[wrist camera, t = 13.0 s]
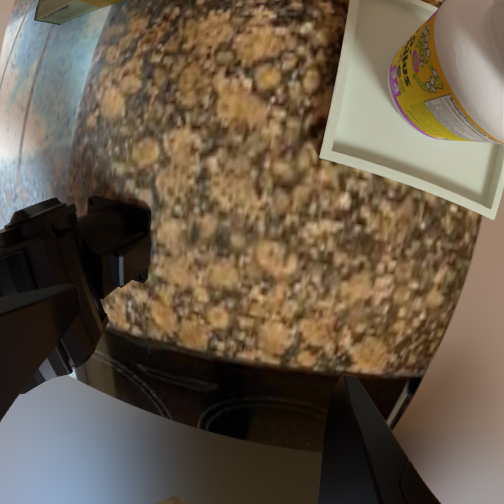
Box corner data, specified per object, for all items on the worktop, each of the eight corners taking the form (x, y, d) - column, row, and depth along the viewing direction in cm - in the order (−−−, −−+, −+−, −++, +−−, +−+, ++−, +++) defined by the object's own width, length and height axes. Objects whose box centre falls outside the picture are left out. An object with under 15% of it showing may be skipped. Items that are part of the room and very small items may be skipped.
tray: (319, 156, 18) (319, 157, 16) (351, -11, 13) (353, -22, 11) (483, 214, 16) (494, 220, 15) (508, 59, 11) (518, 55, 10)
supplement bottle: (409, 28, 12) (497, -72, 1) (484, 90, 13) (616, 71, 1) (366, 98, 15) (454, 23, 3) (445, 161, 15) (590, 204, 4)
